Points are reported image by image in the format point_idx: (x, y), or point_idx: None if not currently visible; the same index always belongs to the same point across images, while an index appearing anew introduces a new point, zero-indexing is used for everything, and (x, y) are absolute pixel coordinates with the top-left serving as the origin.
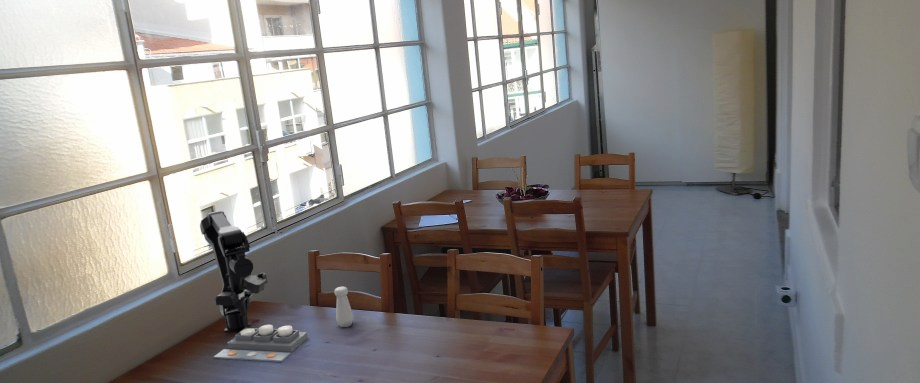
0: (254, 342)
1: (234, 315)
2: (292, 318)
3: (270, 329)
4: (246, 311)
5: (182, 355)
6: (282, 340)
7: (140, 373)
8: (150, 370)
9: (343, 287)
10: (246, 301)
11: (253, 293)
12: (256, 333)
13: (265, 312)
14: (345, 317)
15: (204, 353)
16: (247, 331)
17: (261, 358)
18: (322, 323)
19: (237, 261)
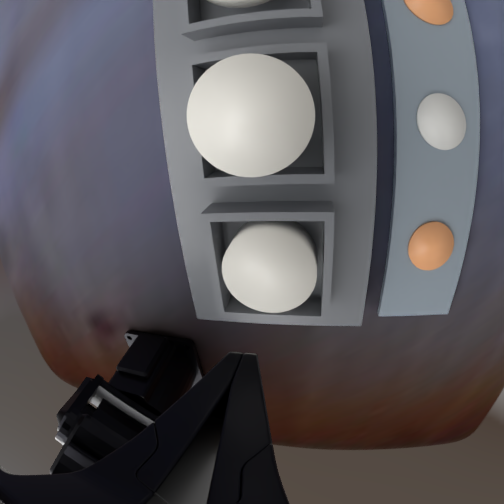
0: (352, 161)
1: (162, 406)
2: (35, 195)
3: (263, 55)
4: (228, 380)
5: (397, 409)
6: None
7: (477, 419)
8: (470, 414)
9: None
10: (169, 483)
11: (4, 486)
12: (258, 207)
13: (56, 321)
14: None
15: (395, 365)
16: (270, 274)
17: (466, 44)
18: (40, 33)
19: None
